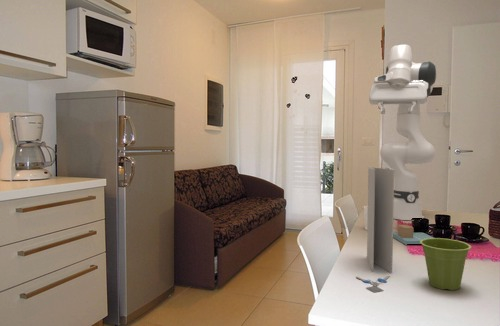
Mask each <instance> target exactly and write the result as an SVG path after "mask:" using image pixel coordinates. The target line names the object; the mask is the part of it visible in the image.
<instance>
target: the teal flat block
mask: <svg viewBox="0 0 500 326" xmlns="http://www.w3.org/2000/svg"><path fill="white" fill-rule="evenodd" d="M413 236H414V237H416V238H417V239H419V240H423V239H428V238H434V237H433V236H431V235H429V234H427V233H425V232H413Z"/></svg>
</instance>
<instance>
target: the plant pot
mask: <svg viewBox="0 0 500 326" xmlns="http://www.w3.org/2000/svg"><path fill="white" fill-rule="evenodd" d="M420 243H421V244H422V245H421V246H422V251H423V254H424V259H425V265H426V271H427V279H428V282H429V284H430V286H432V287H434V288H437V289H440V290H449V291H455V290H459V289H460V288H461V284H462V280H463V274H464V269H465V265H466V259H467V257H468V254H469V251H470V250H471V249H472V245H470V244H469V243H467V242H465V241H460V240H457V239H456V240H455V239H450V238H441V237H433V238H428V239H423V240H421V241H420Z"/></svg>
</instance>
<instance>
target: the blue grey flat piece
mask: <svg viewBox="0 0 500 326" xmlns="http://www.w3.org/2000/svg"><path fill="white" fill-rule="evenodd" d="M355 278H356V279H358V280H361V281H362V282H363V283H366V284H370V285H372V286H367V287H365V289H366V290H368V291H370V292H372V293H373V294H374V293H380V292H384V289H382V288H380V287H378V286H380V285H381V284H383V283H384V284H386V283H387V282H388V281H387V280H388V279H389V278H391V276H390V275H387V276H385V277H384V278H382V277H381V278H380V277H379V278H377V281H375V280H370V279H365V278H362V277H360V276H355Z"/></svg>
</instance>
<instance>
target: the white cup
mask: <svg viewBox="0 0 500 326" xmlns="http://www.w3.org/2000/svg"><path fill="white" fill-rule="evenodd" d="M367 221H368V205H364V206H363V222H364V230H366V231H367Z"/></svg>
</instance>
